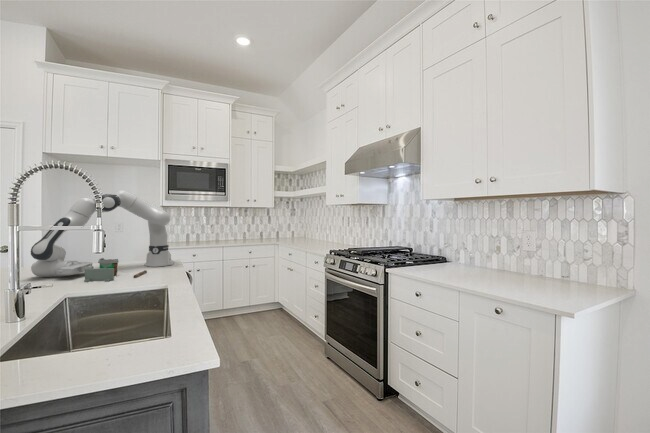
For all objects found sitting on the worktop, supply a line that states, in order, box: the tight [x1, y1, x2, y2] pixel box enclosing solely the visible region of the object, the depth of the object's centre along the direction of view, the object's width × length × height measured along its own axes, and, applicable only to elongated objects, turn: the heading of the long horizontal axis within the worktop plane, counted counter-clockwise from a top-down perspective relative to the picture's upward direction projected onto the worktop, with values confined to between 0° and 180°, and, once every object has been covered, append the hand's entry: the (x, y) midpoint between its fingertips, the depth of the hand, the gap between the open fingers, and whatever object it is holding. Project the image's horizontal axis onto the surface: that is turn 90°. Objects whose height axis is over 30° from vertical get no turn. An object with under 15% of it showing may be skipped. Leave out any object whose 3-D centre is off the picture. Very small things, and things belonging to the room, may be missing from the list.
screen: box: [84, 268, 115, 283], centre depth 174 cm, size 4×14×6 cm, turn 99°
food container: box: [97, 257, 119, 277], centre depth 187 cm, size 12×6×10 cm, turn 73°
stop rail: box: [133, 270, 148, 279], centre depth 190 cm, size 16×1×2 cm, turn 9°
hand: (92, 268), depth 186 cm, fingers closed
